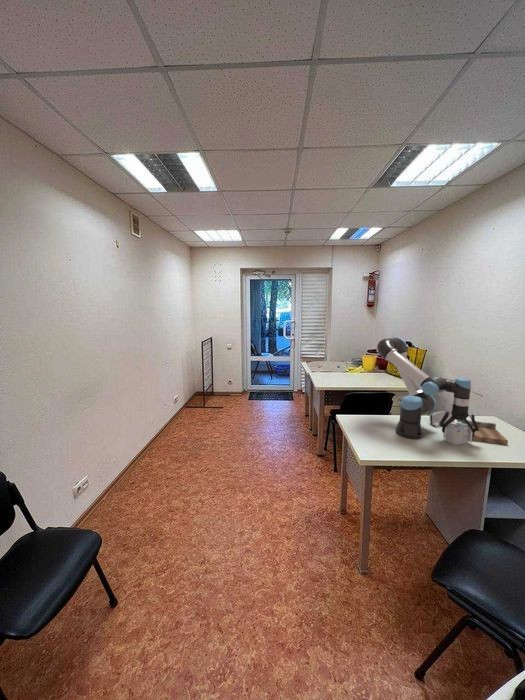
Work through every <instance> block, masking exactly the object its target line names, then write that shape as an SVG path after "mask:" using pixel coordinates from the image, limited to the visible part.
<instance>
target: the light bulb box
mask: <svg viewBox="0 0 525 700" xmlns="http://www.w3.org/2000/svg"><path fill="white" fill-rule="evenodd" d="M446 428H447V432H446V439H444V440H445V441H446V442H447V443H449V444H451V445H454V446H457V445H463V444H468V443H470V442H469V434H470V427H469V426H468V425H467V424H464V423H462V422H456V421H455V423H450V424H448V426H447V427H446Z"/></svg>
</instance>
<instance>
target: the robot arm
mask: <svg viewBox="0 0 525 700" xmlns="http://www.w3.org/2000/svg"><path fill="white" fill-rule="evenodd" d="M407 346H408V345H407V343H406V341H405V340H404V339H403V338H400V337H391V338H383V339H381V340H380V341H378V343H377V345H376V350H377V353H378V354H379V355H380V356H381V357H382V358H383V359H384V360H385V361H389V362H390V363H392V364H393V366H395V367H396V369H397V371H398V372H399V373H398V374H399V375H400V378H401V379H402V381H403V383H404V386H405V387H406V390H407V392H408V395H405V396H403V397H402V398H401V400H400V403H399V404H400V409H399V421H398V422H397V424H396V427H395V432H396V434H397V435H398V436H401V437H403V438H406V439H411V440H412V439H414V440H418V439H422V438H423V436H424V433H423V427H422V424H421V423H422V422H421V421H422V416H424V415H427V414H431V412H433V411H434V410H435V409H436V406H437V403H436V399H435V398H434V397H433V396H435V395H437V394H440V393H443V392H446V393H452V394H453V400H452V406H451V407H452V408H451V409H452V410H451V411H448V410H445V411H444V412H445V415H444V417H443V418H442V420H441V421H440V423H439V425H440V426H441V427H440V428H441V432H442V434H443V435H442V436H443V439H444V440H445V439H446V432H447V428H446V427H447V426H448V424H450V423H451V422H452V421H454V422H455V420H456V421H457V420H461V421H463V420H464V421H465V422H466V423H467V425H468V426H469V427H470V429H471V430H470V434H469V442H468V443H472V437H474V432H475V431H479V429H478V426H477V424H476V421H477V420H476V419H475V416H476V415H475V414H473V413H469V404H470V397H471V390H472V381H471V379H469V378H466V377H455V379H448V378H443V377H441V376H439V377H438V376H435V377H433V378H432V377H431V376H430V375H428V374H426V372H424V371H422V369H420V368H419V367H417V366H416V365H415V364H414V363H413V362H411V361H410V360H409V359H408V356H407V355H408V351H407V348H408V347H407ZM450 414H452V416H451V417H450V419H448V420H447V421H446V419H447V418H448V416H449V415H450ZM468 417H469V418H470V421H472V423H473V425H474V428H473V427H472V426H471V425H470V423H469V422H468V420H469V419H467V418H468ZM445 421H446V422H445ZM444 422H445V423H444Z"/></svg>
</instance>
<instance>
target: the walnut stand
mask: <svg viewBox="0 0 525 700" xmlns="http://www.w3.org/2000/svg"><path fill="white" fill-rule="evenodd" d="M467 420H468V422H469V423H470V425H471V426H472V427H473V428H474V425H473V423H472V420H471V419H470V420H469V419H467ZM456 421H457V422H462V423H464V424H467V423H466V422H465V421H464V420H463V421H461V420H456ZM475 421H476V424H477V426H478V429H479V431H475V432H474V437H472V441H473V442H480V443H481V442H482V443H486V444H487V443H488V444H494V445H502V446H508V441H509V440H508V439H507V438H506V437H505V436H504V435H502V433H501V432H499V430H497V429H496V428H497V423H493V422H485V421H478V420H475ZM470 430H471V429H470ZM472 441H471V442H472Z"/></svg>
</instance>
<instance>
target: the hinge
mask: <svg viewBox="0 0 525 700" xmlns="http://www.w3.org/2000/svg"><path fill="white" fill-rule="evenodd" d="M445 412H446V411H444V410H443V411H442V410H441V411H435V412H432V413H429V425H430V426H434V427H436V428H442V427H441V426H440V425H439V423H440V421H441V420H442V418H443V417H444V415H445ZM451 416H452V414H450V415H449V416H448V418H447V419H446V421H447V420H448V419H450V417H451ZM446 421H445V422H446ZM445 422H444V423H445ZM451 423H456V421H455V420H454V421H452V422H451Z"/></svg>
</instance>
